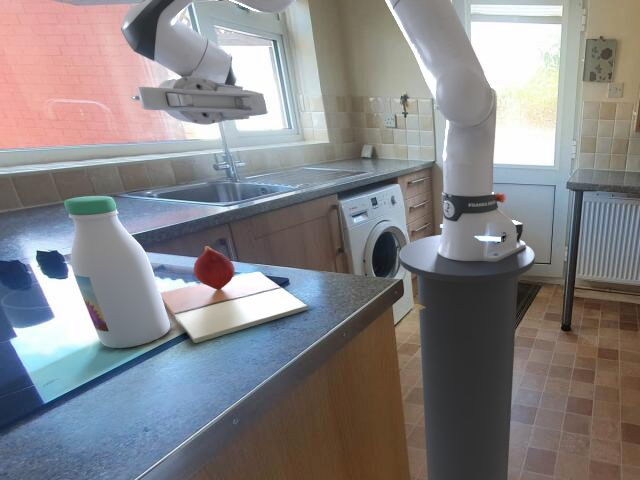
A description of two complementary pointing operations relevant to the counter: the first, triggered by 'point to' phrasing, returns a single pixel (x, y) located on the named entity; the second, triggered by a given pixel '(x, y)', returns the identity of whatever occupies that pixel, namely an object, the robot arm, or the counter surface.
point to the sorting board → (230, 306)
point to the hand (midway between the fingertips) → (219, 101)
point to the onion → (213, 269)
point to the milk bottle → (114, 276)
